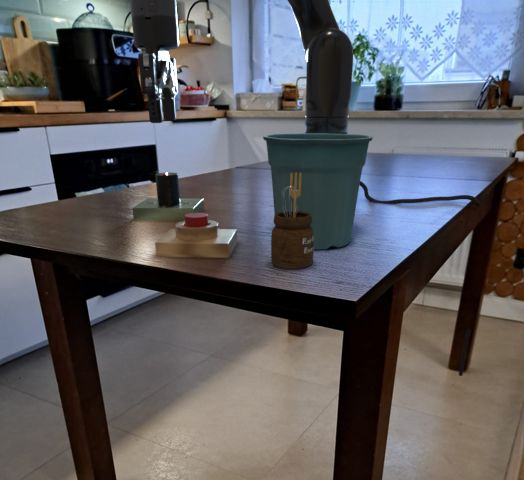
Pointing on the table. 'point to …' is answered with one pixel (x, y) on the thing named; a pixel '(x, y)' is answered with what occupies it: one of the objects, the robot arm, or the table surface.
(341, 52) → the robot arm
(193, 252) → the button block
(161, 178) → the black cylinder
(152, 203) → the panel
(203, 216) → the button
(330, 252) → the table surface
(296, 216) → the utensil holder
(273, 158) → the flower pot
